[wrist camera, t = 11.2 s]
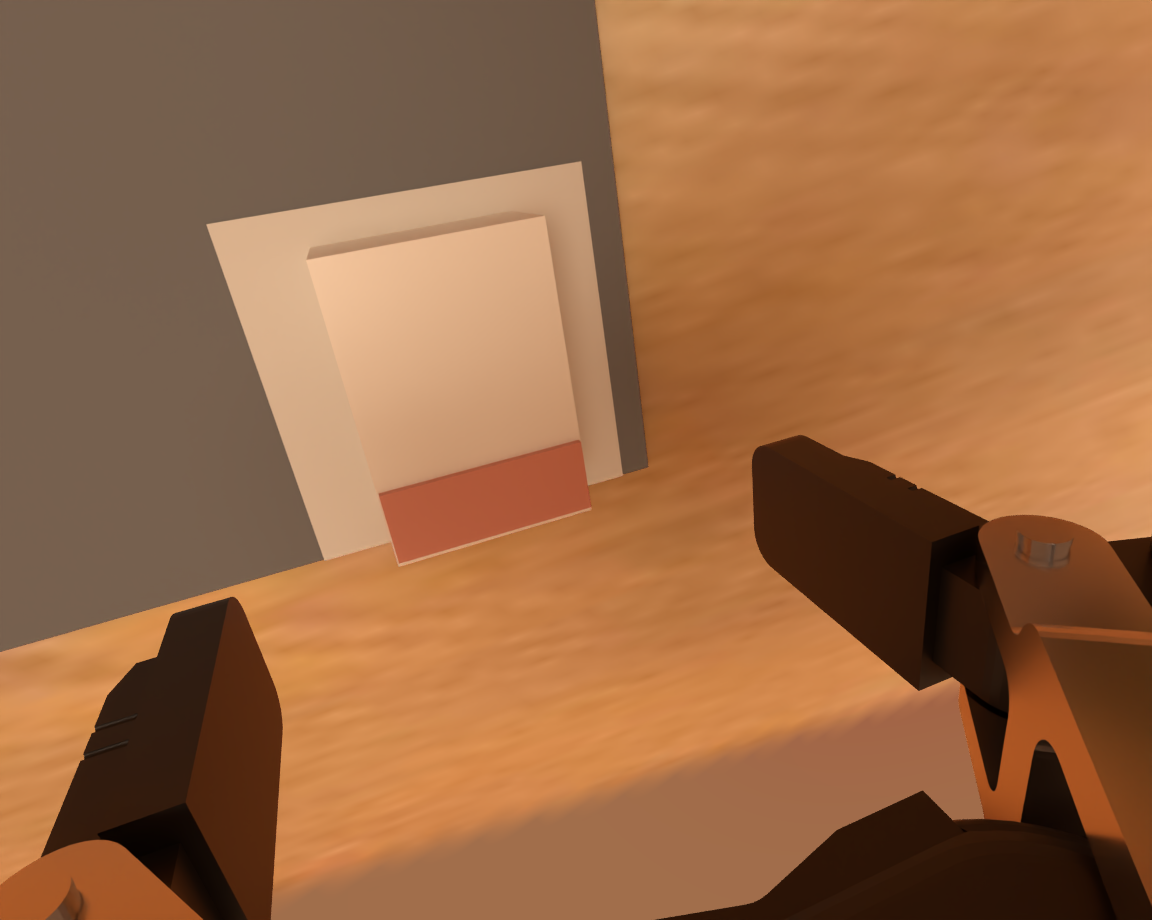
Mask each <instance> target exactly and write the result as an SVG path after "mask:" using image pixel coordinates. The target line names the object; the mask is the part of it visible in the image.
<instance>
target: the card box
mask: <svg viewBox="0 0 1152 920" xmlns="http://www.w3.org/2000/svg"><path fill="white" fill-rule="evenodd" d="M306 262H307V265H308V269H309V272H310V275H311V278H312V282H313V285H314V288H315V292H316V295H317V298H318V302H319V305H320V308H321V312H322V315H323V318H324V322H325V325H326V328H327V331H328V335H329V338H330V341H331V345H332V348H333V351H334V355H335V358H336V361H337V365H338V368H339V371H340V375H341V378H342V381H343V384H344V388H345V391H346V394H347V398H348V401H349V404H350V408H351V411H352V414H353V418H354V421H355V424H356V428H357V431H358V434H359V437H360V441H361V444H362V447H363V451H364V454H365V457H366V461H367V464H368V467H369V471H370V474H371V477H372V481H373V484H374V487H375V490H376V494H377V497H378V500H379V504H380V507H381V510H382V514H383V517H384V520H385V524H386V527H387V530H388V534H389V537H390V540H391V543H392V547H393V550H394V553H395V557H396V560H397V563H398V567H400V566H403V565H407V564H410V563H414V562H417V561H420V560H424V559H427V558H430V557H434V556H437V555H441V554H444V553H447V552H451V551H454V550H457V549H461V548H464V547H468V546H471V545H474V544H478V543H481V542H485V541H488V540H491V539H495V538H498V537H501V536H505V535H508V534H512V533H515V532H518V531H522V530H525V529H529V528H532V527H535V526H539V525H542V524H545V523H549V522H552V521H556V520H559V519H562V518H566V517H569V516H573V515H576V514H579V513H583V512H586V511H589V510H591V502H590V496H589V489H588V483H587V477H586V470H585V464H584V458H583V452H582V445H581V440H580V434H579V427H578V421H577V415H576V408H575V402H574V396H573V390H572V383H571V377H570V371H569V364H568V358H567V352H566V345H565V339H564V333H563V326H562V320H561V314H560V307H559V301H558V295H557V288H556V282H555V276H554V269H553V263H552V257H551V251H550V244H549V238H548V232H547V225H546V219H545V216H544V215H537V214H529V213H522V212H515V211H508V212H502V213H497V214H491V215H486V216H480V217H475V218H469V219H464V220H458V221H453V222H447V223H442V224H436V225H431V226H425V227H420V228H415V229H409V230H404V231H398V232H393V233H387V234H382V235H376V236H371V237H365V238H360V239H354V240H349V241H343V242H338V243H332V244H327V245H321V246H316V247H310V249H309V252H308V255H307V259H306Z"/></svg>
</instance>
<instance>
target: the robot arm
mask: <svg viewBox="0 0 1152 920" xmlns="http://www.w3.org/2000/svg"><path fill="white" fill-rule="evenodd" d="M752 477H753V505H754V531H755V538H756V541H757V545H758V547H759V550H760V552H761V554H762V556H763V557H764V559H765V560H766V562H767V563H768V564H769V565H770V566H771V567H772V568H773V569H774V570H775V571H776V572H778V573H779V574H780V575H781V576H782V577H784V578H785V579H786V580H787V581H788V582H790V583H791V584H792V585H793V586H794V587H796V588H797V589H798V590H799V591H800V592H802V593H803V594H804V595H805V596H806V597H807V598H809V599H810V600H811V601H812V602H813V603H815V604H816V605H817V606H818V607H819V608H821V609H822V610H823V611H824V612H825V613H827V614H828V615H829V616H830V617H831V618H832V619H834V620H835V621H836V622H837V623H838V624H840V625H841V626H842V627H843V628H844V629H846V630H847V631H848V632H849V633H850V634H852V635H853V636H854V637H855V638H856V639H857V640H859V641H860V642H861V643H862V644H863V645H865V646H866V647H867V648H868V649H869V650H871V651H872V652H873V653H874V654H875V655H877V656H878V657H879V658H880V659H881V660H883V661H884V662H885V663H886V664H887V665H888V666H890V667H891V668H892V669H893V670H894V671H896V672H897V673H898V674H899V675H900V676H902V677H903V678H904V679H905V680H906V681H908V682H909V683H910V684H911V685H912V686H913V687H915V688H916V689H917V690H918V691H920V690H922V689H925V688H927V687H929V686H932V685H934V684H937V683H939V682H941V681H944V680H946V679H948V678H951V677H953V678H955V679H956V680H957V681H959V682H960V691H959V699H958V702H959V709H960V713H961V718H962V721H963V726H964V730H965V735H966V739H967V744H968V748H969V753H970V757H971V761H972V766H973V770H974V774H975V778H976V783H977V787H978V792H979V796H980V801H981V805H982V809H983V814H984V819H963V820H952V819H951V818H950V817H949V816H948V815H947V814H946V813H944V811H943V810H942V809H941V808H940V807H939V806H938V805H937V804H936V803H935V802H934V801H933V800H932V799H931V798H930V797H929V796H928V795H927V794H926V793H925V792H924V791H920V792H918V793H916V794H914V795H912V796H910V797H908V798H905V799H904V800H901V801H899V802H897V803H895V804H892V805H890V806H888V807H886V808H884V809H882V810H879V811H877V812H875V813H873V814H871V815H869V816H866V817H864V818H862V819H860V820H858V821H856V822H853V823H851V824H849V825H847V826H845V827H843V828H841V829H838V830H837V831H835V832H834V833H833V834H832V835H831V836H830V837H829V838H828V839H827V840H826V841H825V842H823V844H821V845H820V846H819V847H818V848H817V849H816V850H815V851H814V852H813V853H811V854H810V855H809V856H808V857H807V858H806V859H805V860H804V861H803V862H802V863H801V864H799V866H798V867H796V868H795V869H794V870H793V871H792V872H791V873H790V874H789V875H788V876H786V877H785V878H784V879H783V880H782V881H781V882H780V883H779V884H778V885H777V886H776V887H774V888H773V889H772V890H771V891H770V892H769V893H768V894H767V895H765V896H764V897H763V898H761V899H760V900H758V901H756V902H754V903H750V904H747V905H741V906H735V907H729V908H723V909H717V910H712V911H705V912H699V913H693V914H688V915H681V916H675V917H669V918H664V919H657V920H1152V536H1151V537H1146V538H1137V539H1127V540H1118V541H1109V542H1107V541H1106V540H1105V539H1104V538H1103V537H1101V536H1100V535H1099V534H1097V533H1095V532H1094V531H1092V530H1090V529H1088V528H1086V527H1083V526H1081V525H1078V524H1075V523H1073V522H1069V521H1066V520H1062V519H1057V518H1053V517H1046V516H1038V515H1013V516H1005V517H1000V518H997V519H994V520H991V521H987V520H985V519H983V518H981V517H979V516H977V515H975V514H973V513H971V512H969V511H967V510H965V509H963V508H961V507H959V506H957V505H955V504H953V503H951V502H949V501H947V500H945V499H943V498H941V497H939V496H937V495H935V494H933V493H931V492H929V491H927V490H925V489H923V488H920V489H917V486H916V485H915V484H913V483H911V482H909V481H907V480H905V479H903V478H901V477H900V478H896V476H895V474H893V473H891V472H889V471H887V470H885V469H883V468H881V467H879V466H877V465H875V464H873V463H871V462H868V461H864V460H859V459H855V458H851V457H847V456H843V455H841V454H839V453H837V452H835V451H833V450H831V449H829V448H827V447H825V446H824V445H822V444H820V443H818V442H816V441H814V440H812V439H810V438H808V437H806V436H803V435H798V436H794V437H791V438H787V439H784V440H780V441H777V442H773V443H770V444H766V445H763V446H760V447H758V448H757V449H756V450H755V452H754V454H753V459H752ZM282 730H283V726H282V715H281V708H280V703H279V699H278V695H277V692H276V688H275V686H274V683H273V680H272V678H271V676H270V673H269V671H268V668H267V666H266V663H265V661H264V658H263V656H262V654H261V651H260V649H259V646H258V644H257V641H256V639H255V637H254V634H253V632H252V629H251V627H250V624H249V622H248V620H247V617H246V615H245V612H244V610H243V608H242V606H241V604H240V603H239V601H238V600H237V599H236V598H235V597H230V598H226V599H223V600H219V601H216V602H212V603H209V604H205V605H202V606H198V607H195V608H191V609H188V610H184V611H181V612H178V613H175V614H173V615H172V616H171V618H170V620H169V623H168V626H167V629H166V632H165V635H164V638H163V641H162V644H161V647H160V650H159V653H158V656H157V657H156V658H152V659H149V660H146V661H142V662H139V663H136V664H135V665H134V666H133V668H132V669H131V670H130V671H129V672H128V673H127V674H126V675H125V676H124V678H123V679H122V680H121V681H120V682H119V683H118V684H117V685H116V686H115V688H114V689H113V690H112V691H111V692H110V693H109V694H108V695H107V698H106V700H105V703H104V705H103V707H102V710H101V712H100V715H99V717H98V720H97V722H96V724H95V733H92V734H91V737H90V739H89V741H88V744H87V746H86V749H85V751H84V760H82V761H80V763H79V766H78V768H77V771H76V773H75V776H74V778H73V780H72V783H71V785H70V788H69V790H68V793H67V795H66V797H65V800H64V802H63V805H62V807H61V810H60V812H59V814H58V817H57V819H56V822H55V824H54V827H53V829H52V831H51V834H50V836H49V839H48V841H47V844H46V846H45V848H44V851H43V853H42V856H41V858H39V859H38V860H36V861H34V862H33V863H31V864H29V865H28V866H26V867H24V868H23V869H21V870H20V871H18V872H17V873H15V874H14V875H13V876H11V877H10V878H8V879H7V880H6V881H5V882H3V883H2V884H1V885H0V920H271V905H272V890H273V874H274V858H275V842H276V826H277V811H278V795H279V779H280V763H281V747H282Z"/></svg>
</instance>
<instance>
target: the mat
mask: <svg viewBox="0 0 1152 920" xmlns="http://www.w3.org/2000/svg"><path fill="white" fill-rule="evenodd" d="M508 211H515V212H522V213H529V214H537V215H544V216H545V219H546V225H547V232H548V238H549V244H550V251H551V257H552V263H553V269H554V276H555V282H556V288H557V295H558V301H559V307H560V314H561V320H562V326H563V333H564V339H565V345H566V352H567V358H568V364H569V371H570V377H571V383H572V390H573V396H574V402H575V408H576V415H577V421H578V427H579V434H580V440H581V445H582V452H583V458H584V464H585V470H586V477H587V483H588V486H589V485H592V484H596V483H599V482H603V481H606V480H610V479H613V478H617V477H620V476H623V474H626V473H630V472H633V471H637V470H640V469H644V468H647V467H648V459H647V451H646V442H645V433H644V425H643V416H642V407H641V399H640V390H639V381H638V373H637V364H636V355H635V346H634V338H633V329H632V320H631V312H630V303H629V294H628V286H627V277H626V268H625V260H624V251H623V242H622V234H621V225H620V216H619V207H618V199H617V190H616V181H615V173H614V164H613V155H612V147H611V138H610V129H609V121H608V112H607V103H606V95H605V86H604V77H603V68H602V60H601V51H600V42H599V34H598V25H597V16H596V8H595V0H0V652H2V651H5V650H9V649H12V648H16V647H19V646H23V645H26V644H30V643H33V642H37V641H40V640H44V639H47V638H51V637H54V636H58V635H61V634H65V633H68V632H72V631H75V630H79V629H82V628H86V627H89V626H93V625H96V624H100V623H103V622H107V621H110V620H114V619H117V618H121V617H125V616H128V615H132V614H135V613H139V612H142V611H146V610H149V609H153V608H156V607H160V606H163V605H167V604H170V603H174V602H177V601H181V600H184V599H188V598H191V597H195V596H198V595H202V594H205V593H209V592H212V591H216V590H219V589H223V588H226V587H230V586H233V585H237V584H240V583H244V582H247V581H251V580H254V579H258V578H261V577H265V576H268V575H272V574H275V573H279V572H282V571H286V570H289V569H293V568H296V567H300V566H303V565H307V564H310V563H314V562H317V561H321V560H324V561H326V560H330V559H333V558H337V557H340V556H344V555H347V554H351V553H354V552H358V551H361V550H365V549H368V548H372V547H375V546H379V545H382V544H386V543H389V542H391V540H390V537H389V534H388V530H387V527H386V524H385V520H384V517H383V514H382V510H381V507H380V504H379V500H378V497H377V494H376V490H375V487H374V484H373V481H372V477H371V474H370V471H369V467H368V464H367V461H366V457H365V454H364V451H363V447H362V444H361V441H360V437H359V434H358V431H357V428H356V424H355V421H354V418H353V414H352V411H351V408H350V404H349V401H348V398H347V394H346V391H345V388H344V384H343V381H342V378H341V375H340V371H339V368H338V365H337V361H336V358H335V355H334V351H333V348H332V345H331V341H330V338H329V335H328V331H327V328H326V325H325V322H324V318H323V315H322V312H321V308H320V305H319V302H318V298H317V295H316V292H315V288H314V285H313V282H312V278H311V275H310V272H309V269H308V265H307V262H306V259H307V255H308V252H309V249H310V247H316V246H321V245H327V244H332V243H338V242H343V241H349V240H354V239H360V238H365V237H371V236H376V235H382V234H387V233H393V232H398V231H404V230H409V229H415V228H420V227H425V226H431V225H436V224H442V223H447V222H453V221H458V220H464V219H469V218H475V217H480V216H486V215H491V214H497V213H502V212H508Z"/></svg>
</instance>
